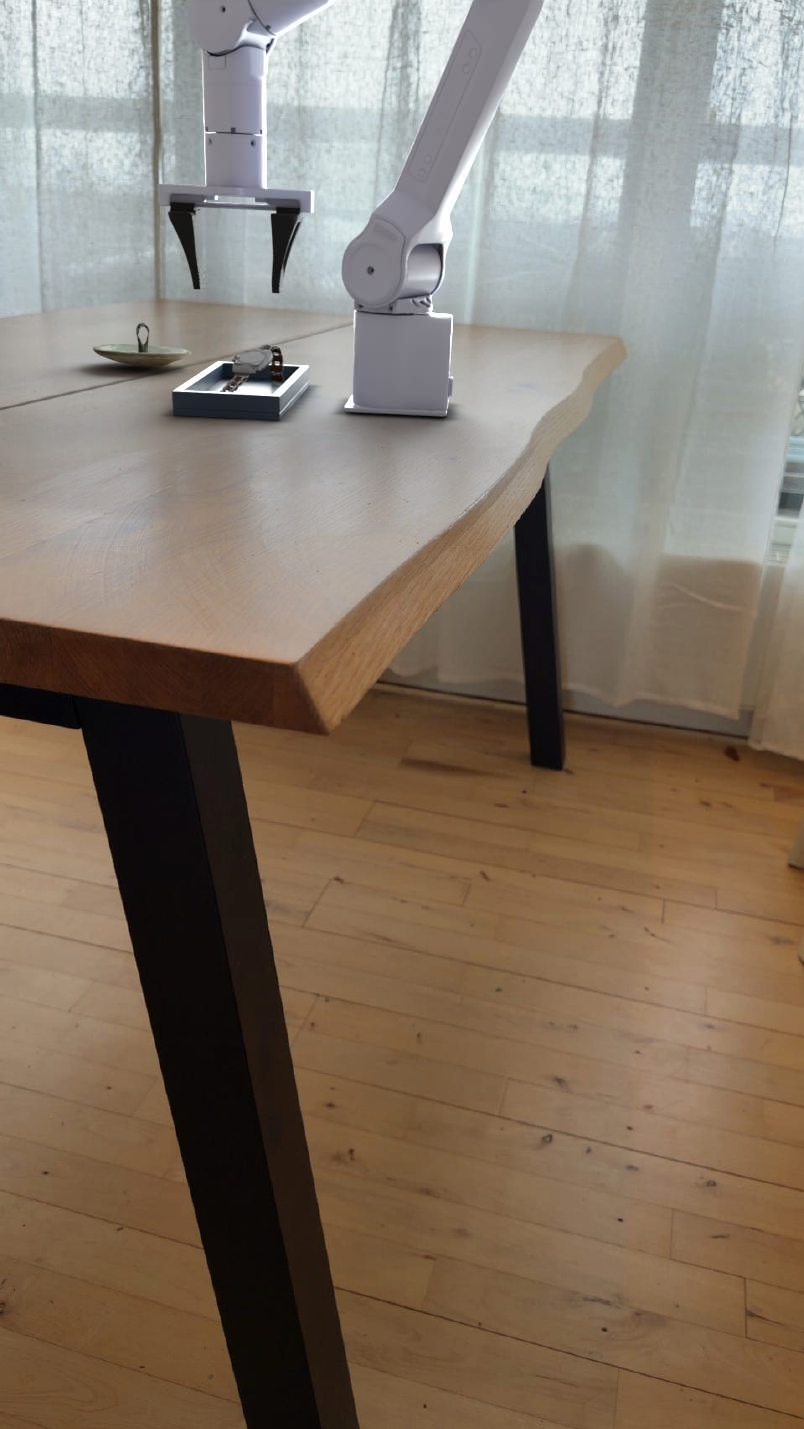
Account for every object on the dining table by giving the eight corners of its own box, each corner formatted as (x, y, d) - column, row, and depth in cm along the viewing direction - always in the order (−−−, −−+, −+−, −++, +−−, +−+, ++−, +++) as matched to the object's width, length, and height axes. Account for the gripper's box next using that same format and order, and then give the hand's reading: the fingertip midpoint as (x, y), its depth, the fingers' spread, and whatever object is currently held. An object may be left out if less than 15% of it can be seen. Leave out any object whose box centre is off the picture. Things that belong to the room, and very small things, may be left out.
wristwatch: (295, 382, 116) (289, 334, 113) (238, 449, 106) (229, 399, 103) (262, 379, 117) (256, 331, 114) (202, 445, 107) (193, 395, 104)
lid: (182, 393, 124) (198, 348, 123) (92, 357, 120) (107, 311, 119) (175, 380, 133) (190, 339, 132) (91, 347, 130) (105, 304, 128)
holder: (218, 382, 120) (217, 361, 119) (309, 386, 119) (309, 365, 118) (172, 415, 102) (171, 391, 101) (279, 420, 101) (279, 396, 101)
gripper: (146, 129, 103) (154, 290, 108) (307, 136, 102) (306, 297, 108) (165, 133, 109) (171, 284, 115) (317, 139, 108) (315, 291, 114)
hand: (238, 290), depth 112 cm, fingers open, 7 cm apart
